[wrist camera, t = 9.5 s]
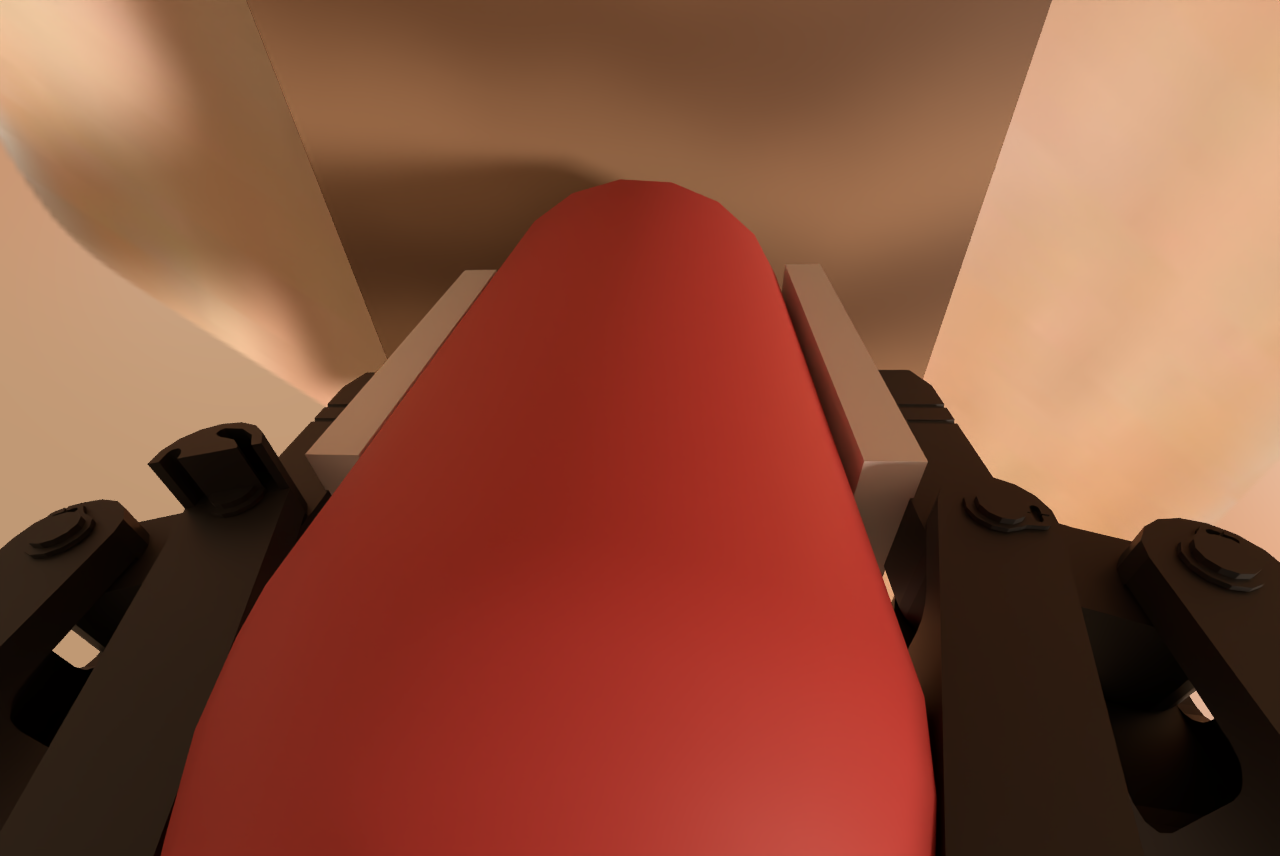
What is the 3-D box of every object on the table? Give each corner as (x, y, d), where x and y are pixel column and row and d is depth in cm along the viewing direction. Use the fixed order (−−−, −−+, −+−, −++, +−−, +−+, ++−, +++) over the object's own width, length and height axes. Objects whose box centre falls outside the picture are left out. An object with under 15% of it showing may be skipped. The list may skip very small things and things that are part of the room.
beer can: (474, 353, 14) (41, 1044, 5) (577, 104, 10) (-598, 1040, 1) (683, 453, 16) (680, 1108, 6) (836, 270, 12) (1400, 1206, 3)
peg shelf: (385, -58, 16) (205, -104, 10) (938, -97, 14) (1111, -177, 9) (497, 386, 26) (441, 496, 20) (832, 386, 24) (880, 504, 18)
